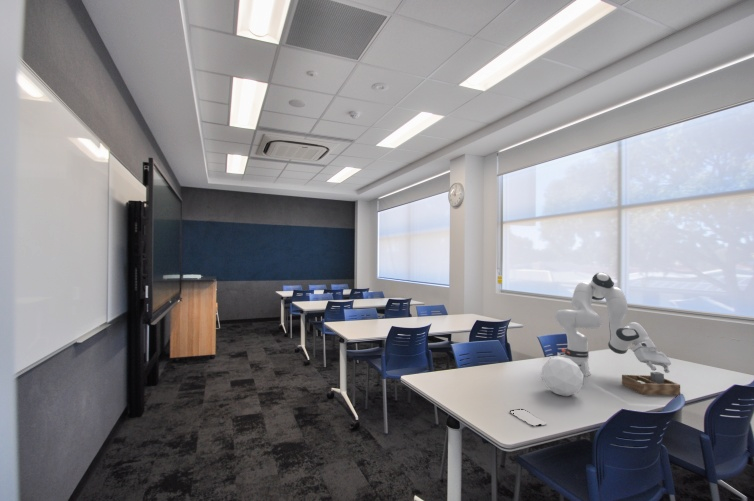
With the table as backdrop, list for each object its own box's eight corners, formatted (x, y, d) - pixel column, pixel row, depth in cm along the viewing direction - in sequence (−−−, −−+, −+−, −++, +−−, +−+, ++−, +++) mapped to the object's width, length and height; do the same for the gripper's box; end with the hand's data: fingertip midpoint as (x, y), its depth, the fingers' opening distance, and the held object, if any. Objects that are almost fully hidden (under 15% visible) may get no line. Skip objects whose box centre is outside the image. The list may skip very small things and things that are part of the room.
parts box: (642, 395, 182) (642, 383, 183) (622, 385, 197) (621, 374, 198) (680, 396, 182) (680, 384, 183) (657, 386, 197) (657, 375, 198)
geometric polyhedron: (572, 410, 178) (591, 387, 167) (532, 391, 185) (547, 367, 173) (574, 383, 192) (591, 360, 181) (537, 365, 199) (551, 342, 187)
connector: (655, 390, 188) (655, 374, 188) (650, 388, 192) (650, 371, 192) (664, 391, 188) (664, 374, 188) (658, 388, 192) (658, 372, 192)
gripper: (656, 353, 205) (670, 376, 195) (628, 348, 200) (642, 371, 191) (665, 348, 201) (680, 371, 191) (637, 343, 196) (651, 365, 186)
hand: (661, 371), depth 191 cm, fingers open, 8 cm apart
